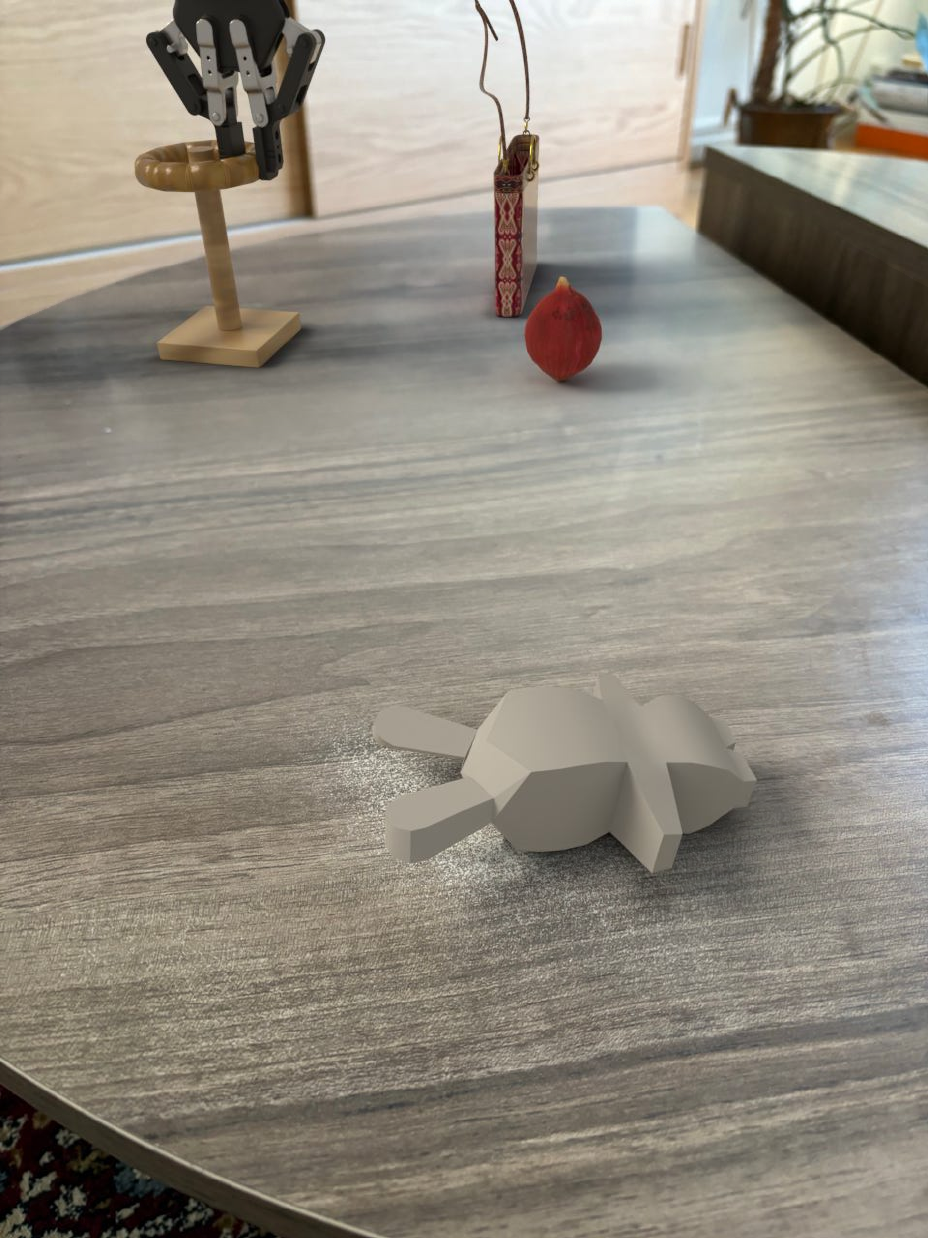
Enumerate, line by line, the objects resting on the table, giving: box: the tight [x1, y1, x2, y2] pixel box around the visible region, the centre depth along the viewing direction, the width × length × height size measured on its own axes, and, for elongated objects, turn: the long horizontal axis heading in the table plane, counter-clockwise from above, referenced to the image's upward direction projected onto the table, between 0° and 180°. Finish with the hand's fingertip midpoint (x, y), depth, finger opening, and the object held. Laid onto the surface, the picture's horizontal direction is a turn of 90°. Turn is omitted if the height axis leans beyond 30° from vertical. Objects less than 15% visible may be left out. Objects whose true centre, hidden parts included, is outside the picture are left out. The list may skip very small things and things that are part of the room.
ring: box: [134, 139, 260, 193], centre depth 77 cm, size 10×10×2 cm
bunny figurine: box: [371, 671, 758, 874], centre depth 41 cm, size 10×5×15 cm
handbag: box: [474, 0, 540, 318], centre depth 89 cm, size 7×21×25 cm, turn 171°
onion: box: [523, 276, 603, 383], centre depth 75 cm, size 6×6×8 cm
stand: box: [156, 146, 302, 369], centre depth 81 cm, size 9×9×16 cm
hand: (253, 176), depth 76 cm, fingers closed on ring, 2 cm apart
